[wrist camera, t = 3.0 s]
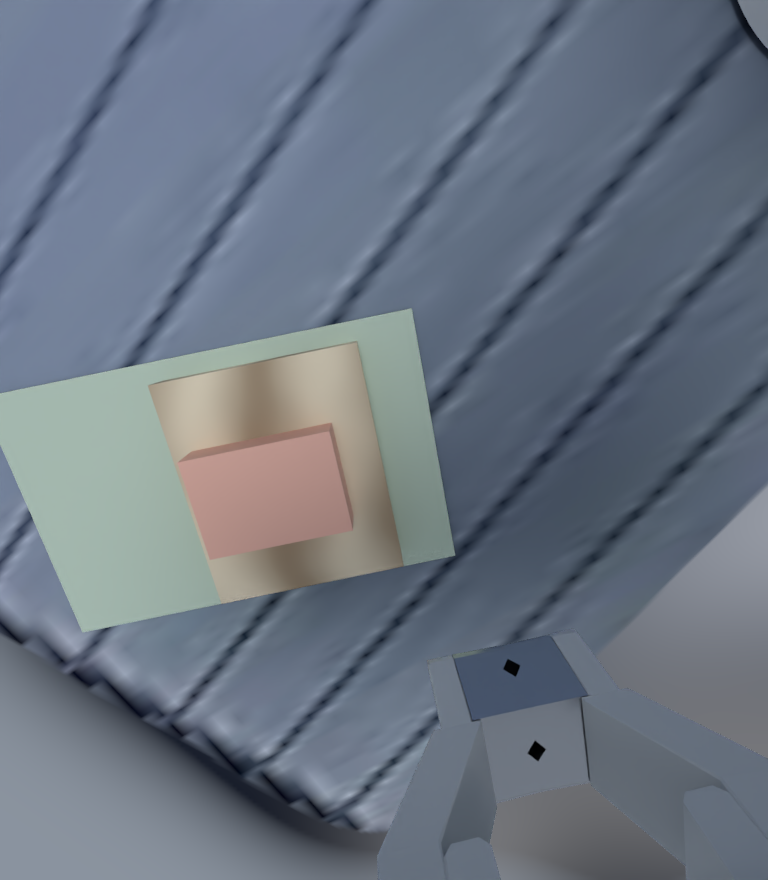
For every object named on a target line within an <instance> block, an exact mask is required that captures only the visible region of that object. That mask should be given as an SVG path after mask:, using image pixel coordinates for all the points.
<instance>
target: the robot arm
mask: <svg viewBox="0 0 768 880" xmlns="http://www.w3.org/2000/svg"><path fill="white" fill-rule="evenodd" d="M738 2H739V5H740V7H741V9H742V11H743V14H744V16H745V17H746V19H747V21H748V23H749V25H750V26H751V28H752V29H753V31H754V32H755V34H756V35H757V37H758V38H759V39H760V40H761V42H762V43H763V44H764V45H765V46H766V48H767V49H768V0H738ZM427 663H428V670H429V675H430V679H431V684H432V689H433V694H434V699H435V703H436V708H437V713H438V718H439V723H440V727H441V729H438V730H434V731H433V733H432V735H431V737H430V740H429V742H428V744H427V746H426V749H425V751H424V753H423V755H422V758H421V760H420V762H419V764H418V766H417V769H416V771H415V773H414V775H413V778H412V780H411V782H410V784H409V786H408V789H407V791H406V793H405V795H404V798H403V800H402V802H401V804H400V807H399V809H398V811H397V813H396V815H395V818H394V820H393V822H392V824H391V827H390V829H389V831H388V833H387V835H386V838H385V840H384V842H383V844H382V847H381V849H380V851H379V853H378V856H377V868H378V880H501V878H500V875H499V871H498V867H497V864H496V860H495V857H494V853H493V850H492V846H491V844H490V839H491V834H492V829H493V825H494V820H495V815H496V810H497V804H496V803H500V802H504V801H507V800H512V799H516V798H520V797H523V796H527V795H531V794H535V793H539V792H542V791H549V790H554V789H559V788H564V787H570V786H575V785H581V784H585V783H591V786H592V787H593V788H594V789H596V790H597V791H598V792H599V793H600V794H602V795H603V796H604V797H605V798H606V799H607V800H609V801H610V802H611V803H612V804H613V805H614V806H616V807H617V808H618V809H619V810H620V811H622V812H623V813H624V814H625V815H626V816H628V818H630V819H631V820H632V821H633V822H634V823H635V824H637V825H638V826H639V827H640V828H641V829H643V830H644V831H645V832H646V833H647V834H648V835H650V836H651V837H652V838H653V839H654V840H655V841H657V842H658V843H659V844H660V845H662V847H664V848H665V849H666V850H667V851H668V852H669V853H671V854H672V855H673V856H674V857H675V858H677V859H678V860H679V861H680V862H681V863H682V864H684V865H685V866H686V880H768V758H766V757H763V756H762V755H760V754H758V753H756V752H754V751H752V750H750V749H748V748H746V747H744V746H742V745H740V744H738V743H736V742H734V741H732V740H730V739H728V738H726V737H724V736H722V735H720V734H718V733H716V732H714V731H712V730H710V729H708V728H706V727H704V726H702V725H700V724H698V723H696V722H694V721H692V720H690V719H688V718H686V717H684V716H682V715H680V714H679V713H677V712H674V711H673V710H671V709H669V708H667V707H665V706H663V705H661V704H659V703H657V702H655V701H653V700H651V699H649V698H647V697H645V696H643V695H641V694H639V693H637V692H635V691H633V690H631V689H629V688H625V689H619V688H618V686H617V685H616V684H615V682H614V681H613V680H612V678H611V677H610V676H609V674H608V673H607V672H606V670H605V669H604V667H603V666H602V665H601V663H600V662H599V661H598V659H597V658H596V657H595V655H594V654H593V652H592V651H591V650H590V648H589V647H588V646H587V644H586V643H585V642H584V640H583V639H582V638H581V636H580V635H579V634H578V632H577V631H576V630H574V629H568V630H564V631H559V632H555V633H551V634H548V635H545V636H541V637H536V638H532V639H527V640H523V641H518V642H514V643H509V644H505V645H500V646H495V647H490V648H485V649H479V650H474V651H469V652H464V653H459V654H453V655H452V656H451V655H450V656H445V657H440V658H435V659H430V660H427Z"/></svg>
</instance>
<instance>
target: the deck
mask: <svg viewBox="0 0 768 880" xmlns="http://www.w3.org/2000/svg"><path fill="white" fill-rule="evenodd" d="M148 388H149V391H150V394H151V397H152V400H153V403H154V406H155V409H156V412H157V415H158V418H159V421H160V424H161V427H162V430H163V432H164V435H165V438H166V441H167V444H168V447H169V450H170V453H171V456H172V459H173V462H174V465H175V468H176V471H177V474H178V477H179V480H180V483H181V486H182V489H183V492H184V495H185V498H186V501H187V503H188V506H189V509H190V512H191V515H192V518H193V521H194V524H195V527H196V530H197V533H198V536H199V539H200V542H201V545H202V548H203V551H204V554H205V557H206V560H207V563H208V566H209V569H210V572H211V575H212V577H213V580H214V583H215V586H216V589H217V592H218V595H219V598H220V601H221V604H223V603H228V602H233V601H238V600H243V599H248V598H253V597H257V596H262V595H267V594H272V593H277V592H282V591H287V590H291V589H296V588H301V587H306V586H311V585H316V584H320V583H325V582H330V581H335V580H340V579H345V578H350V577H354V576H359V575H364V574H369V573H374V572H379V571H384V570H388V569H393V568H398V567H403V566H404V564H403V558H402V553H401V548H400V543H399V538H398V533H397V529H396V524H395V519H394V514H393V510H392V505H391V500H390V495H389V491H388V486H387V481H386V476H385V472H384V467H383V462H382V457H381V453H380V448H379V443H378V438H377V434H376V429H375V424H374V419H373V415H372V410H371V405H370V400H369V396H368V391H367V386H366V381H365V377H364V372H363V367H362V362H361V358H360V353H359V348H358V343H357V341H353V342H348V343H343V344H338V345H334V346H329V347H324V348H319V349H314V350H309V351H305V352H300V353H295V354H290V355H285V356H280V357H276V358H271V359H266V360H261V361H256V362H251V363H246V364H242V365H237V366H232V367H227V368H222V369H217V370H213V371H208V372H203V373H198V374H193V375H188V376H184V377H179V378H174V379H169V380H164V381H161V382H157V383H154V384H151V385H148ZM331 422H332V426H333V430H334V434H335V438H336V443H337V447H338V451H339V455H340V460H341V464H342V468H343V472H344V477H345V481H346V485H347V489H348V494H349V498H350V502H351V506H352V511H353V515H354V516H353V531H348V532H343V533H338V534H333V535H329V536H324V537H319V538H314V539H309V540H304V541H300V542H295V543H290V544H285V545H280V546H275V547H270V548H266V549H261V550H256V551H251V552H246V553H241V554H236V555H232V556H227V557H222V558H217V559H212V560H210V559H209V556H208V553H207V550H206V547H205V544H204V541H203V538H202V535H201V532H200V529H199V526H198V523H197V520H196V517H195V514H194V511H193V508H192V505H191V502H190V499H189V496H188V493H187V490H186V487H185V484H184V481H183V478H182V476H181V473H180V470H179V467H178V464H177V462H179V461H180V460H181V459H182V458H184V457H185V456H186V455H187V454H189V453H190V452H191V451H196V450H201V449H205V448H210V447H215V446H220V445H225V444H230V443H234V442H239V441H244V440H249V439H254V438H259V437H264V436H268V435H273V434H278V433H283V432H288V431H293V430H297V429H302V428H307V427H312V426H317V425H322V424H327V423H331Z"/></svg>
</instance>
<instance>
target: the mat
mask: <svg viewBox="0 0 768 880" xmlns="http://www.w3.org/2000/svg"><path fill="white" fill-rule="evenodd" d="M353 341H357V343H358V348H359V353H360V358H361V362H362V367H363V372H364V377H365V381H366V386H367V391H368V396H369V400H370V405H371V410H372V415H373V419H374V424H375V429H376V434H377V438H378V443H379V448H380V453H381V457H382V462H383V467H384V472H385V476H386V481H387V486H388V491H389V495H390V500H391V505H392V510H393V514H394V519H395V524H396V529H397V533H398V538H399V543H400V548H401V553H402V558H403V564H404V566H407V565H412V564H417V563H422V562H427V561H432V560H436V559H441V558H446V557H451V556H455V551H454V546H453V540H452V534H451V529H450V523H449V517H448V512H447V506H446V500H445V495H444V489H443V483H442V478H441V472H440V466H439V461H438V455H437V449H436V444H435V438H434V432H433V427H432V421H431V415H430V410H429V404H428V398H427V393H426V387H425V381H424V375H423V370H422V364H421V358H420V353H419V347H418V341H417V336H416V330H415V324H414V319H413V313H412V308H411V309H406V310H401V311H396V312H392V313H387V314H382V315H377V316H372V317H367V318H363V319H358V320H353V321H348V322H343V323H338V324H334V325H329V326H324V327H319V328H314V329H309V330H305V331H300V332H295V333H290V334H285V335H280V336H276V337H271V338H266V339H261V340H256V341H251V342H247V343H242V344H237V345H232V346H227V347H222V348H218V349H213V350H208V351H203V352H198V353H193V354H189V355H184V356H179V357H174V358H169V359H164V360H160V361H155V362H150V363H145V364H140V365H135V366H131V367H126V368H121V369H116V370H111V371H106V372H102V373H97V374H92V375H87V376H82V377H77V378H72V379H68V380H63V381H58V382H53V383H48V384H43V385H39V386H34V387H29V388H24V389H19V390H14V391H10V392H5V393H0V445H1V447H2V450H3V452H4V454H5V456H6V459H7V461H8V463H9V466H10V468H11V470H12V472H13V475H14V477H15V479H16V482H17V484H18V486H19V488H20V491H21V493H22V495H23V497H24V500H25V502H26V504H27V507H28V509H29V511H30V513H31V516H32V518H33V520H34V523H35V525H36V527H37V529H38V532H39V534H40V536H41V538H42V541H43V543H44V545H45V548H46V550H47V552H48V554H49V557H50V559H51V561H52V564H53V566H54V568H55V570H56V573H57V575H58V577H59V580H60V582H61V584H62V586H63V589H64V591H65V593H66V595H67V598H68V600H69V602H70V605H71V607H72V609H73V611H74V614H75V616H76V618H77V621H78V623H79V625H80V627H81V630H82V632H87V631H92V630H96V629H101V628H106V627H111V626H116V625H121V624H126V623H130V622H135V621H140V620H145V619H150V618H155V617H160V616H164V615H169V614H174V613H179V612H184V611H189V610H194V609H198V608H203V607H208V606H213V605H218V604H221V601H220V598H219V595H218V592H217V589H216V586H215V583H214V580H213V577H212V575H211V572H210V569H209V566H208V563H207V560H206V557H205V554H204V551H203V548H202V545H201V542H200V539H199V536H198V533H197V530H196V527H195V524H194V521H193V518H192V515H191V512H190V509H189V506H188V503H187V501H186V498H185V495H184V492H183V489H182V486H181V483H180V480H179V477H178V474H177V471H176V468H175V465H174V462H173V459H172V456H171V453H170V450H169V447H168V444H167V441H166V438H165V435H164V432H163V430H162V427H161V424H160V421H159V418H158V415H157V412H156V409H155V406H154V403H153V400H152V397H151V394H150V391H149V388H148V385H151V384H154V383H157V382H161V381H164V380H169V379H174V378H179V377H184V376H188V375H193V374H198V373H203V372H208V371H213V370H217V369H222V368H227V367H232V366H237V365H242V364H246V363H251V362H256V361H261V360H266V359H271V358H276V357H280V356H285V355H290V354H295V353H300V352H305V351H309V350H314V349H319V348H324V347H329V346H334V345H338V344H343V343H348V342H353Z"/></svg>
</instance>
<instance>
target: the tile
mask: <svg viewBox="0 0 768 880" xmlns="http://www.w3.org/2000/svg"><path fill="white" fill-rule="evenodd" d="M177 464H178V467H179V470H180V473H181V476H182V478H183V481H184V484H185V487H186V490H187V493H188V496H189V499H190V502H191V505H192V508H193V511H194V514H195V517H196V520H197V523H198V526H199V529H200V532H201V535H202V538H203V541H204V544H205V547H206V550H207V553H208V556H209V559H210V560H212V559H217V558H222V557H227V556H232V555H236V554H241V553H246V552H251V551H256V550H261V549H266V548H270V547H275V546H280V545H285V544H290V543H295V542H300V541H304V540H309V539H314V538H319V537H324V536H329V535H333V534H338V533H343V532H348V531H353V516H354V515H353V511H352V506H351V502H350V498H349V494H348V489H347V485H346V481H345V477H344V472H343V468H342V464H341V460H340V455H339V451H338V447H337V443H336V438H335V434H334V430H333V426H332V422H331V423H327V424H322V425H317V426H312V427H307V428H302V429H297V430H293V431H288V432H283V433H278V434H273V435H268V436H264V437H259V438H254V439H249V440H244V441H239V442H234V443H230V444H225V445H220V446H215V447H210V448H205V449H201V450H196V451H191V452H190V453H189V454H187V455H186V456H185V457H184V458H182V459H181V460H180V461H179V462H177Z"/></svg>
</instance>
